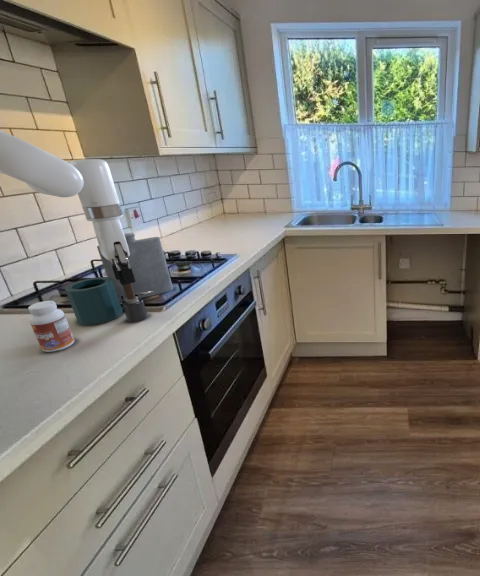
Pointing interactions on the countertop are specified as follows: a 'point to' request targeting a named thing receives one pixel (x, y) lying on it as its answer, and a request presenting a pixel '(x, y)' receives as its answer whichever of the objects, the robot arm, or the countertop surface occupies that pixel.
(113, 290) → the jar
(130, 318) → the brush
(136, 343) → the countertop surface
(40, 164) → the robot arm
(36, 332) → the pill bottle
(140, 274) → the hip flask
